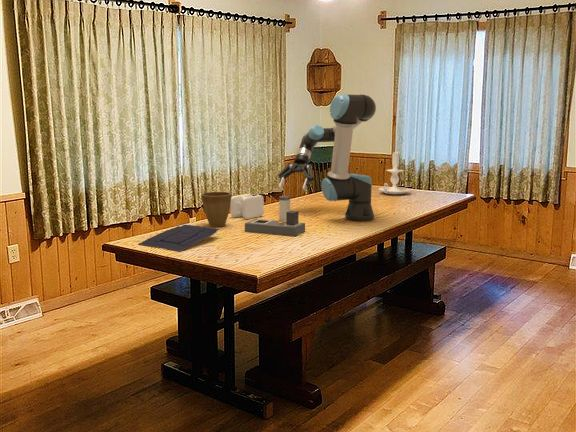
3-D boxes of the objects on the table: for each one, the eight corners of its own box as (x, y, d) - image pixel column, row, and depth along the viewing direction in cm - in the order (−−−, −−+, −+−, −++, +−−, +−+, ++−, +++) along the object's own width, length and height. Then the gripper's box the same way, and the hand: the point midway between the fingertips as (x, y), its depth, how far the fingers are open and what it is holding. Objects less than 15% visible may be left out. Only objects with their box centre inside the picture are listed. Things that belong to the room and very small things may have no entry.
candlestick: (369, 195, 397) (370, 152, 392) (387, 190, 417) (388, 149, 411) (398, 198, 385) (400, 153, 380) (415, 193, 405) (417, 150, 399)
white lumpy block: (243, 220, 317) (243, 198, 315) (229, 217, 324) (229, 196, 322) (264, 216, 328) (263, 195, 325) (250, 213, 335) (250, 192, 332)
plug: (290, 218, 321) (290, 196, 319) (286, 220, 316) (286, 197, 314) (283, 218, 323) (283, 195, 320) (279, 220, 318) (279, 197, 316)
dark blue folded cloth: (223, 235, 278) (223, 227, 277) (181, 257, 254) (180, 249, 253) (182, 229, 290) (181, 222, 289) (137, 250, 266) (136, 242, 265)
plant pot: (235, 223, 310) (235, 191, 307) (226, 229, 296) (225, 196, 293) (208, 221, 313) (207, 190, 310) (197, 227, 299) (196, 195, 296)
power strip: (305, 231, 292) (305, 210, 290) (295, 236, 281) (295, 214, 279) (255, 226, 302) (255, 206, 300) (244, 231, 291) (244, 210, 289)
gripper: (325, 163, 335) (315, 194, 324) (283, 161, 344) (272, 191, 334) (322, 154, 329) (312, 186, 318) (279, 152, 339) (268, 183, 328)
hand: (291, 189), depth 326 cm, fingers open, 13 cm apart
